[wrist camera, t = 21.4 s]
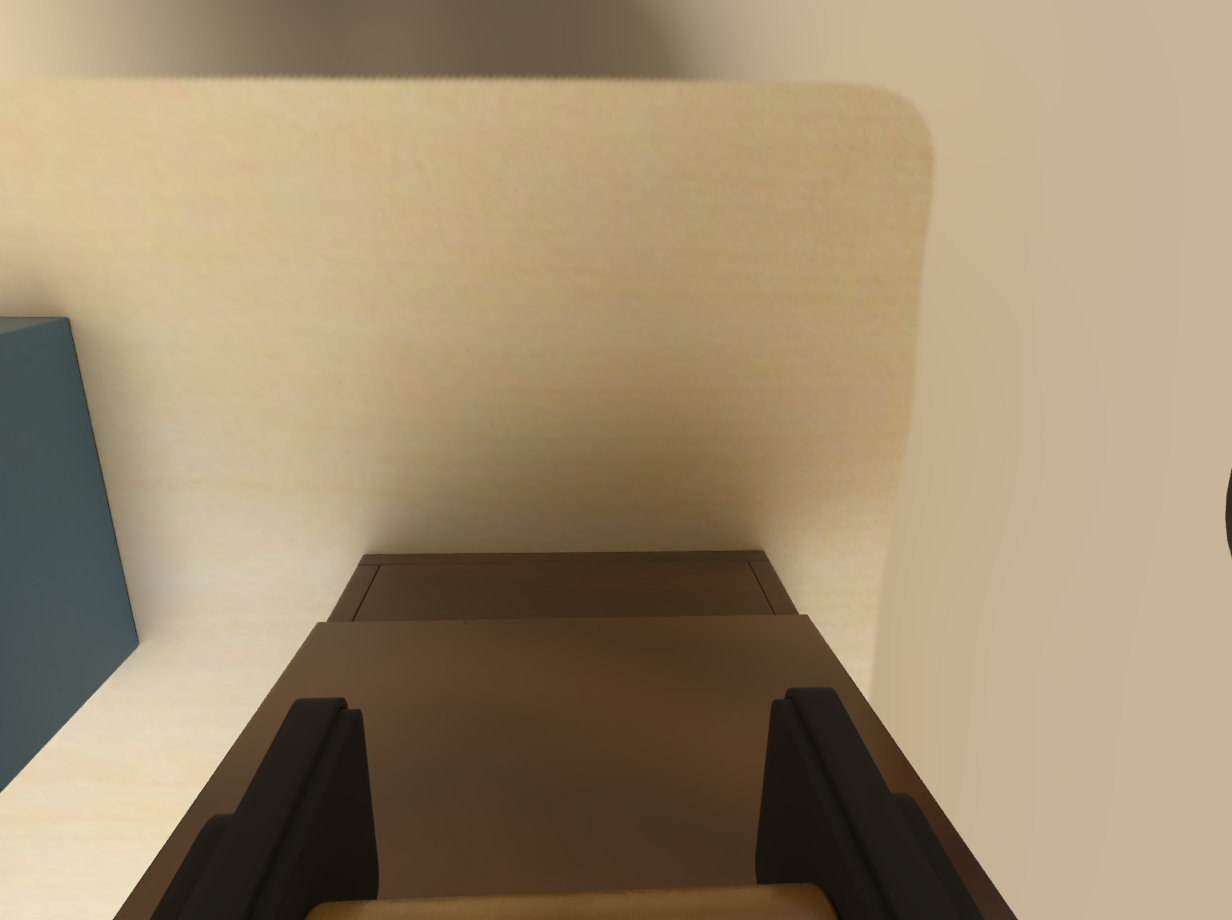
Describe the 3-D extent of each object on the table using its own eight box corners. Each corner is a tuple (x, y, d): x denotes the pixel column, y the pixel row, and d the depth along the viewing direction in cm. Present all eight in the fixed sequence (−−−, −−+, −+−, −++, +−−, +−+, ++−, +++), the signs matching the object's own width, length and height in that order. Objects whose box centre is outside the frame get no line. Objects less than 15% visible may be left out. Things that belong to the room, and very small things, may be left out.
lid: (1419, 1589, 7) (1624, 1142, 5) (-414, 1789, 6) (-707, 1302, 4) (805, 637, 23) (819, 474, 22) (319, 646, 22) (304, 476, 21)
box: (732, 889, 34) (758, 997, 29) (397, 902, 33) (370, 1016, 28) (764, 550, 28) (802, 618, 24) (362, 554, 27) (323, 625, 23)
